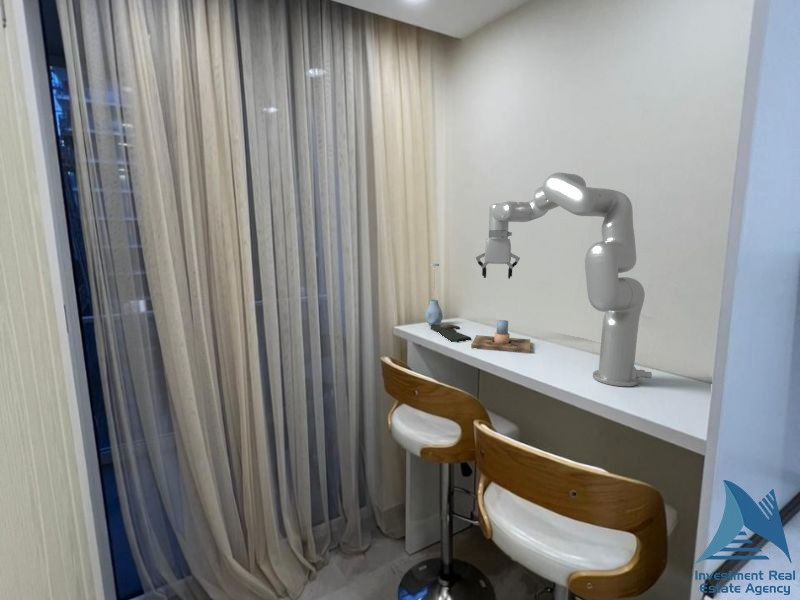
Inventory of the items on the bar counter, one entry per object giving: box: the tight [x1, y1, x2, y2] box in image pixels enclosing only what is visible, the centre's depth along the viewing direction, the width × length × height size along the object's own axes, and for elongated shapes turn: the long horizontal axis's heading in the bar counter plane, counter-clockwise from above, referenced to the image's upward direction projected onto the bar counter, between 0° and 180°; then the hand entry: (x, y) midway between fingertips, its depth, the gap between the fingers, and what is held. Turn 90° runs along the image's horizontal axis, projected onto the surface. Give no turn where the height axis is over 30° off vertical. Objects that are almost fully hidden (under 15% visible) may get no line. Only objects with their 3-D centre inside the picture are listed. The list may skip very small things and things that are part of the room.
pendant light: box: [424, 263, 443, 326], centre depth 201 cm, size 8×8×30 cm
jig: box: [471, 334, 531, 354], centre depth 167 cm, size 22×16×2 cm
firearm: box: [430, 324, 472, 343], centre depth 186 cm, size 28×2×15 cm
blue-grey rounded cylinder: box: [496, 319, 509, 335], centre depth 166 cm, size 4×4×5 cm
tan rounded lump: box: [493, 331, 511, 344], centre depth 166 cm, size 6×6×5 cm
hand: (496, 277), depth 169 cm, fingers open, 9 cm apart
